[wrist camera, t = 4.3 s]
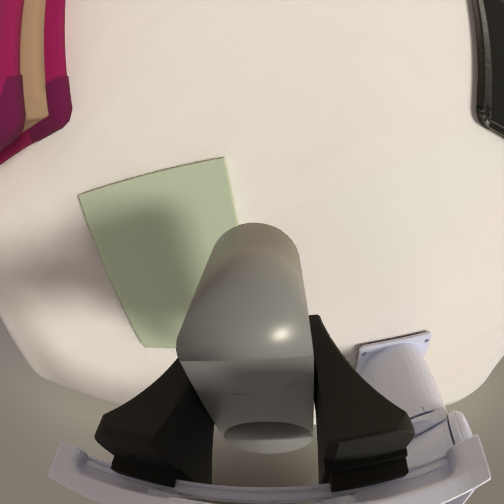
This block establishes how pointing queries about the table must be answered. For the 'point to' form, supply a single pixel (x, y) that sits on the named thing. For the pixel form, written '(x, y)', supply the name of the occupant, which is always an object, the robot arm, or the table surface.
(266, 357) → the cylinder
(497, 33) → the phone
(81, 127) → the table surface
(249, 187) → the table surface
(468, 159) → the table surface
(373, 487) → the robot arm
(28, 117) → the book
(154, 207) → the sage mat
